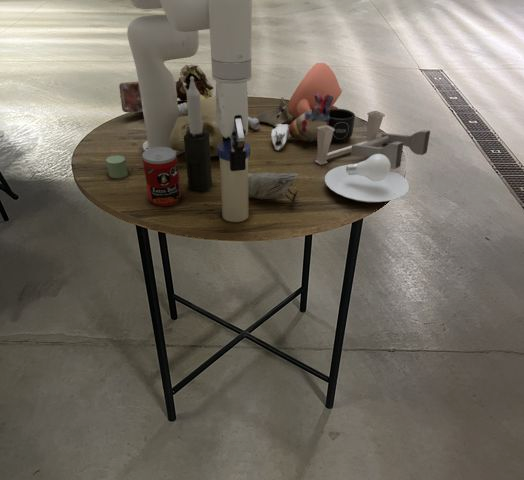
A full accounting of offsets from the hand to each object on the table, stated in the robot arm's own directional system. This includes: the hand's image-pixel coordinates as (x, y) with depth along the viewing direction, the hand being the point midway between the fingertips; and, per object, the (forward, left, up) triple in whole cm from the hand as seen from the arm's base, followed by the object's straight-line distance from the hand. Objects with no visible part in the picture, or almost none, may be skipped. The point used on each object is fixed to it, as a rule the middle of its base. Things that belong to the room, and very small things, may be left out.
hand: (234, 161), depth 102 cm
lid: (0, 0, +3) cm, 3 cm away
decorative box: (-70, -31, -10) cm, 77 cm away
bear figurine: (-76, -12, -6) cm, 77 cm away
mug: (-47, +30, -13) cm, 57 cm away
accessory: (-44, +21, -12) cm, 50 cm away
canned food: (-8, -17, -13) cm, 23 cm away
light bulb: (-63, -19, -11) cm, 67 cm away
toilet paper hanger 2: (-32, +43, -6) cm, 53 cm away
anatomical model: (-44, +20, -13) cm, 50 cm away
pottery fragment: (-61, +9, -15) cm, 63 cm away
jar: (0, 0, -13) cm, 13 cm away
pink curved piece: (-61, +20, -2) cm, 65 cm away
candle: (-15, -9, -13) cm, 21 cm away
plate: (-12, +33, -13) cm, 37 cm away
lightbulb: (-16, +28, -9) cm, 33 cm away
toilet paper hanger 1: (-36, +30, -8) cm, 48 cm away
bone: (-60, +3, -11) cm, 61 cm away
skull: (-34, -18, -6) cm, 39 cm away
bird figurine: (-37, +12, -9) cm, 40 cm away
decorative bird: (-7, +7, -13) cm, 16 cm away
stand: (-22, -31, -13) cm, 39 cm away
